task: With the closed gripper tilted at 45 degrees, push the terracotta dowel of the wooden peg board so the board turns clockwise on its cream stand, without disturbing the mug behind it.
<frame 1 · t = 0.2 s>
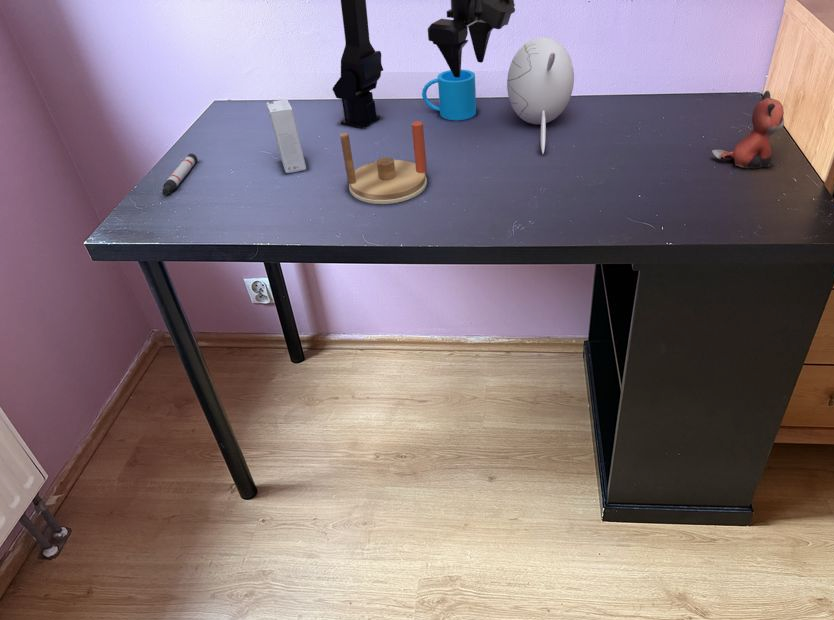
hand: (468, 69, 126), 15 cm above the table, tool pointing down, fingers open, 9 cm apart
marker: (180, 181, 128), on the table
mug: (449, 113, 148), on the table
wooden peg board: (384, 155, 119), point 6 cm above the table, hinge at 0.0°
cosmetic box: (293, 167, 130), on the table
cracked white egg: (539, 129, 139), on the table
stuffed fox: (741, 162, 124), on the table
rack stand: (388, 185, 122), on the table
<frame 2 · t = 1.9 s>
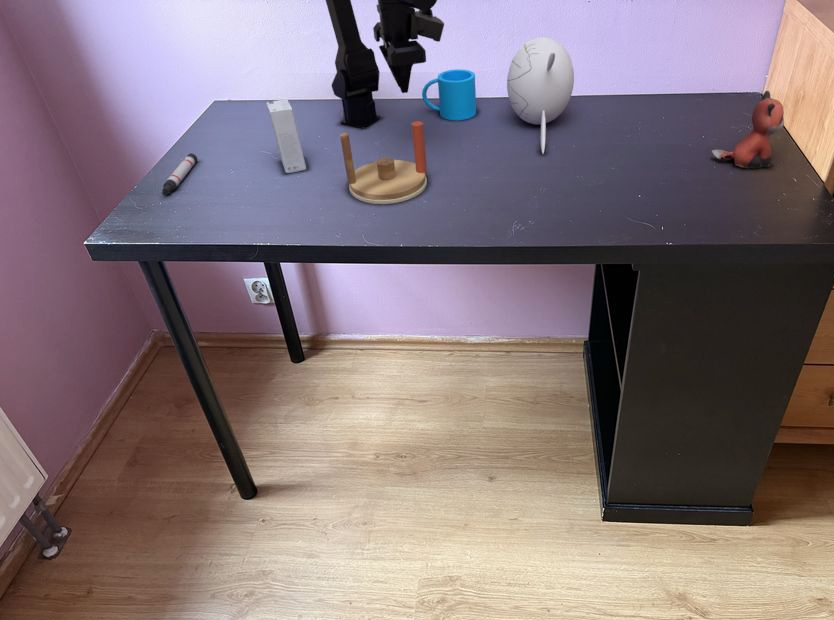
hand: (403, 89, 126), 12 cm above the table, tool pointing down, fingers open, 3 cm apart
nothing on the table moved.
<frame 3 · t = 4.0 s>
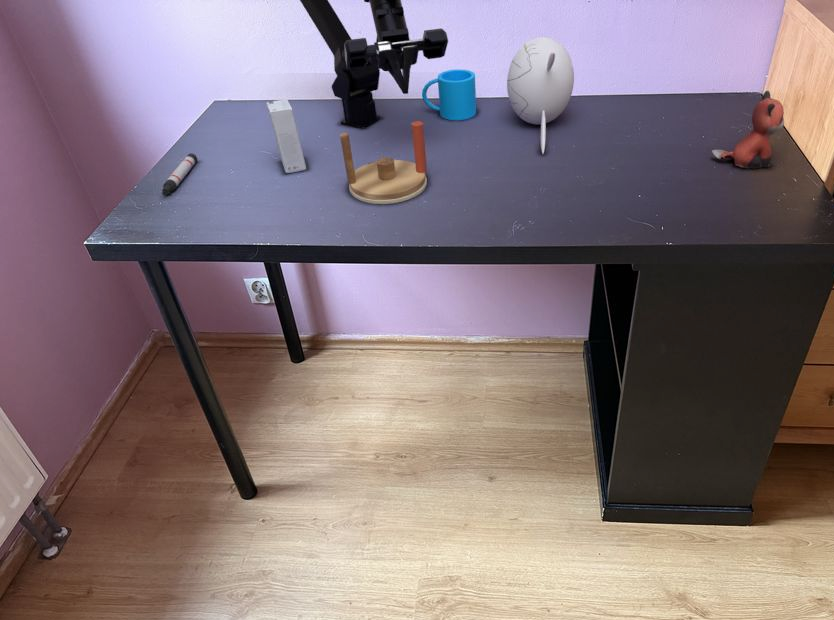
hand: (406, 92, 121), 13 cm above the table, tool tilted 45°, fingers closed
nothing on the table moved.
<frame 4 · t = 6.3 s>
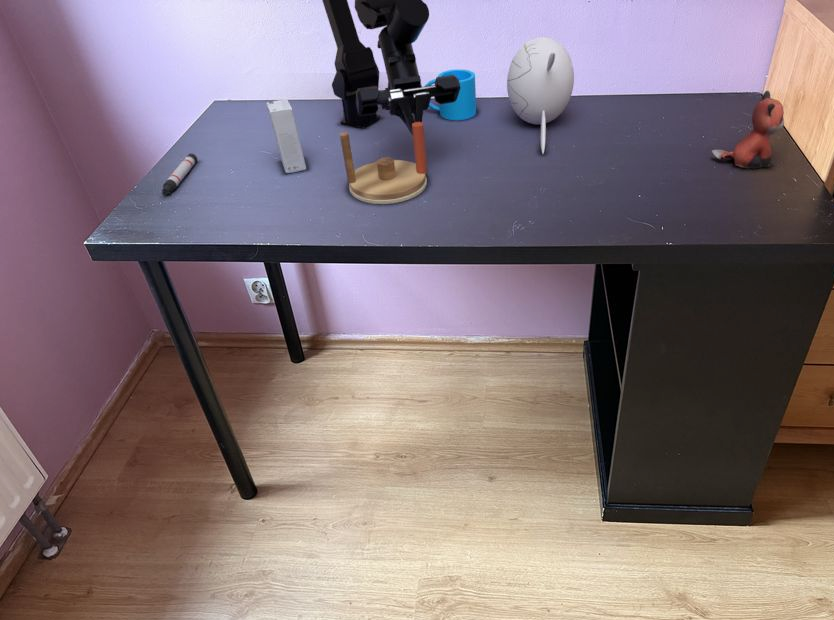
hand: (418, 139, 120), 7 cm above the table, tool tilted 45°, fingers closed, pressing on wooden peg board
wooden peg board: (384, 155, 119), point 6 cm above the table, hinge at -2.8°, touching gripper
everything else where it was.
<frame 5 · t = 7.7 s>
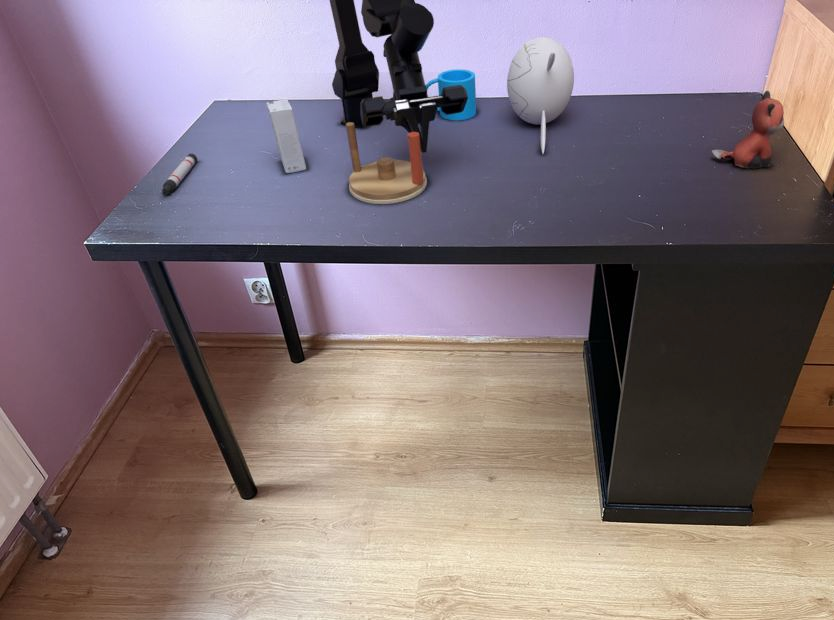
hand: (424, 152, 116), 7 cm above the table, tool tilted 45°, fingers closed
wooden peg board: (384, 155, 119), point 6 cm above the table, hinge at -41.6°, touching gripper
everything else where it was.
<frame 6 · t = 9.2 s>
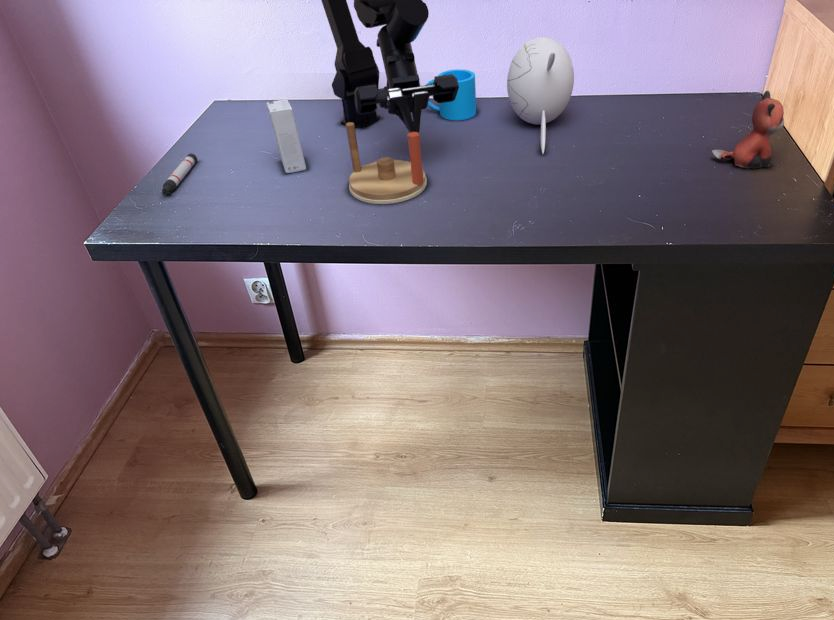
hand: (416, 139, 120), 7 cm above the table, tool tilted 45°, fingers closed
wooden peg board: (384, 155, 119), point 6 cm above the table, hinge at -41.6°
everything else where it was.
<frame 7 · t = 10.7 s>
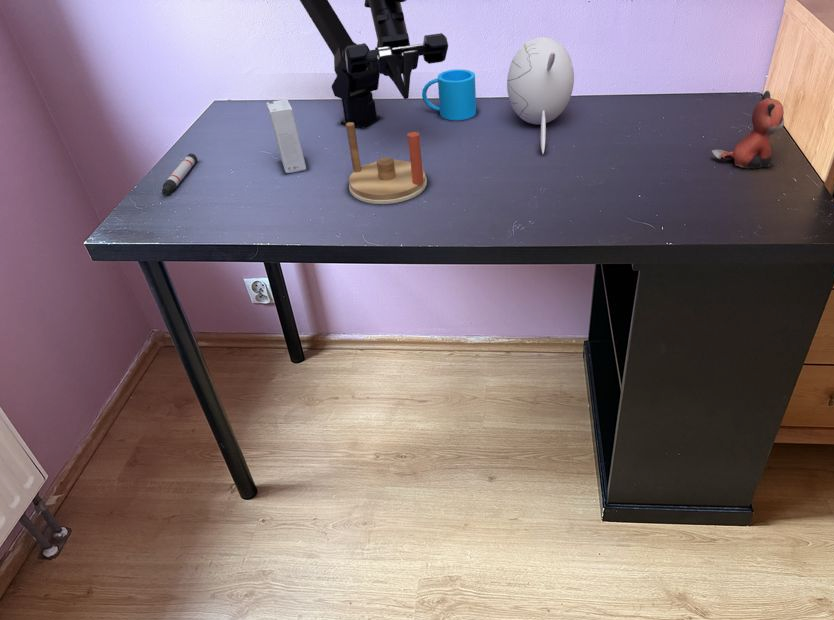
hand: (406, 97, 121), 13 cm above the table, tool tilted 45°, fingers closed
nothing on the table moved.
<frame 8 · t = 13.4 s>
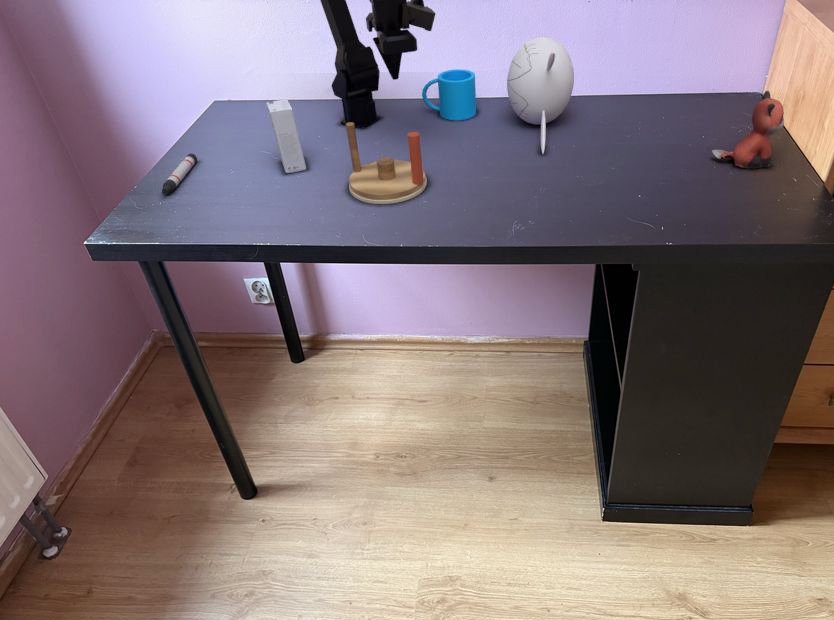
hand: (395, 78, 128), 13 cm above the table, tool pointing down, fingers closed
nothing on the table moved.
at the end: wooden peg board at -42° (first picture: +0°); mug moved 0.2 cm from its start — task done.
